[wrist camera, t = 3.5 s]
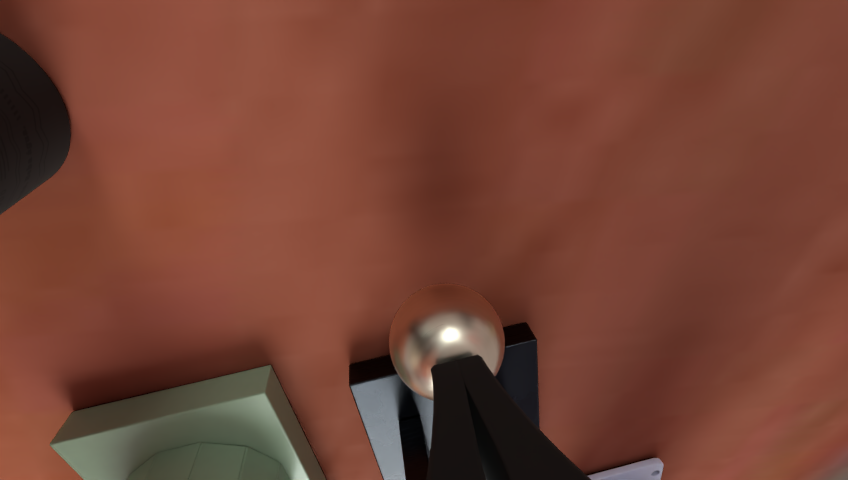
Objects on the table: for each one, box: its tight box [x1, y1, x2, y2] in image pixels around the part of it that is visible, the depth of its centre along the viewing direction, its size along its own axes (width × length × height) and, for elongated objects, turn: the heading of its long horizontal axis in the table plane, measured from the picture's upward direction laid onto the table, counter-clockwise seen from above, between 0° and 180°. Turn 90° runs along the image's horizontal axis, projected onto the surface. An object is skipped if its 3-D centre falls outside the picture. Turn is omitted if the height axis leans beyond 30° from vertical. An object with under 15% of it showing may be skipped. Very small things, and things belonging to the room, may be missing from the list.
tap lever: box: [389, 283, 505, 480], centre depth 14 cm, size 12×4×4 cm, turn 9°
